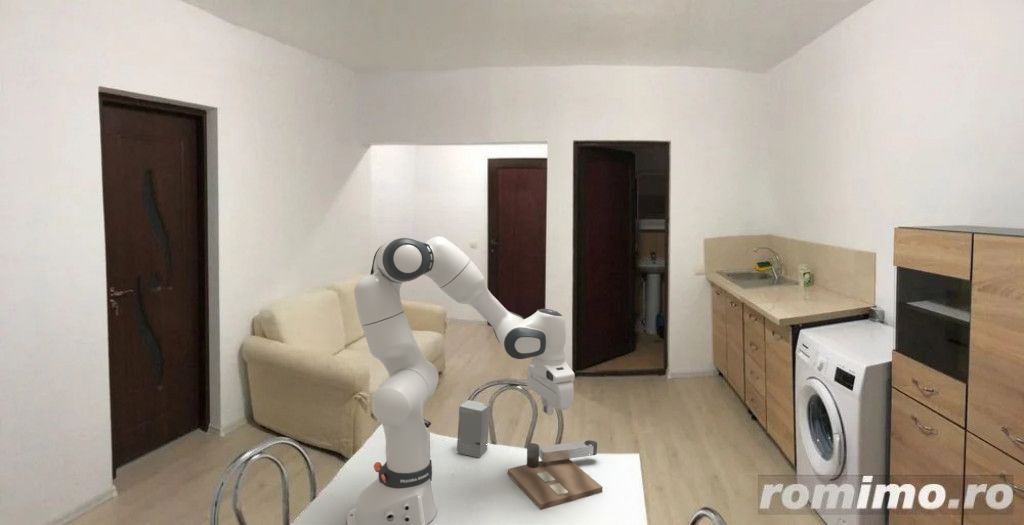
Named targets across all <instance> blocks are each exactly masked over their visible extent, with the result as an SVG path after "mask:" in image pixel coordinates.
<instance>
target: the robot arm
mask: <svg viewBox="0 0 1024 525" xmlns="http://www.w3.org/2000/svg"><path fill="white" fill-rule="evenodd" d="M464 252H465V251H463V250H462V249H460V248H459V247H458V246H457V245H456V244H455V243H453V242H452V241H450V240H449V239H448V238H446V237H444V236H442V235H441V236H440V235H439V236H433V237H431V238H429V239H428V240H426V241H425V242H422V241H419V240H417V239H414V238H413V239H412V238H409V237H399V238H394V239H390V240H388V241H386V242H385V243H384V244H382V245H381V246H380V247H378V249H377V250H376V252H375V253H374V255H373V259H372V264H371V265H372V266H371V270H370V274H369V275H366V276H364V277H362V278H361V279H360V280H359V281H358V282H357V283H356V284H355V286H354V291H353V293H354V301H355V307H356V310H357V315H358V318H359V319H358V320H359V321H360V322H359V323H360V325H361V328H362V331H363V334H364V336H365V340H366V342H367V345H368V349H369V351H370V354H371V355H372V357H374V358H375V359H378V360H379V361H380V362H381V363H382V365H383V366H384V368H385V370H386V372H387V375H388V378H387V379H385V380H384V381H383V382H382V383H381V384H380V385H379V387H378V389H377V390H376V391H375V393H374V396H373V398H372V400H371V411H372V413H373V415H374V417H375V419H376V420H378V421H379V422H380V423H381V425H382V428H383V432H384V435H385V436H384V437H385V462H384V464H383V465H382V463H381V462H380V461H377V462H375V463H374V464H373V470H374V471H375V472H376V473H377V474H378V476H377V477H378V478H377V479H375V480H374V481H373V482H372V483H371V484H369V485H368V486H367V487H366V488H365V489H363V490H362V491H361V492H360V493H359V495H358V498H357V501H356V506H355V507H352V508H351V509H350V510H349V511H348V514H347V516H346V525H429V523H431V522H432V521H433V520H434V519H435V517H436V515H437V511H438V509H437V506H436V504H435V499H434V494H433V489H432V480H433V479H432V478H433V464H432V463H433V462H432V459H431V434H430V430H429V429H428V428H427V427H425V424H424V420H425V419H424V414H423V413H424V407H425V405H426V403H427V401H428V400H429V399H430V398H431V397H433V395H434V393H435V391H436V390H437V386H438V383H439V371H438V369H437V368H436V366H435V364H433V363H432V361H430V360H428V359H427V358H426V357H425V354H424V353H423V352H422V350H421V349H420V347H419V345H418V343H417V341H416V339H415V337H414V334H413V331H412V329H411V326H410V323H409V320H408V317H407V316H408V315H407V313H406V311H405V308H404V304H403V303H402V300H401V294H400V292H401V288H402V287H401V286H402V285H403V283H407V282H411V281H414V280H416V279H418V278H420V277H421V276H423V275H424V276H426V277H428V278H429V279H431V280H432V281H433V283H435V284H436V285H437V287H438V288H440V290H441V291H442V292H444V293H445V295H447V296H448V297H449V298H451V299H452V300H454V301H455V302H456V303H458V304H461V305H468V306H470V307H472V308H473V309H475V310H476V311H477V312H478V314H480V315H481V316H482V317H483V318H484V319H485V320H486V321H487V322H488V323H489V325H490V326H491V327H492V329H493V333H494V336H495V338H496V341H498V342H499V344H500V345H501V346H502V347H503V349H504V351H505V352H506V354H507V355H508V356H510V357H511V358H513V359H516V360H525V359H529V358H531V359H530V360H529V361H530V362H529V365H528V367H527V374H526V386H527V388H529V389H530V390H531V391H533V392H534V393H536V394H537V395H538V396H540V402H541V405H542V411H543V413H545V414H546V415H548V416H552V415H554V409H555V408H557V409H558V410H560V411H566V410H570V409H572V407H573V405H574V398H575V397H574V396H575V395H574V391H575V390H574V387H575V386H574V383H573V381H574V380H575V377H576V376H575V375H576V374H575V372H574V371H573V369H571V367H570V366H569V364H568V362H567V361H566V353H565V344H566V339H567V338H566V321H565V318H564V315H562V314H561V313H560V312H558V311H556V310H553V309H551V308H550V309H548V308H540V309H537V310H536V312H534V313H533V314H532V315H530V316H528V317H526V318H524V317H523V316H522V315H520V314H518V313H515V312H512V311H510V310H508V309H507V308H506V307H504V305H503V304H502V303H501V302H500V301H499V300H498V299H497V298H496V297H495V296H494V295H493V294H492V293H491V291H490V290H489V289H488V287H487V284H486V279H485V276H484V275H483V274H482V272H481V270H480V269H479V267H477V265H476V264H475V263H474V262H473V260H472V259H470V257H469V256H468V255H467V254H466V253H464ZM423 419H424V420H423Z"/></svg>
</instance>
